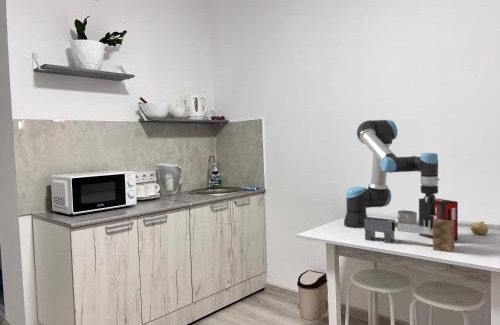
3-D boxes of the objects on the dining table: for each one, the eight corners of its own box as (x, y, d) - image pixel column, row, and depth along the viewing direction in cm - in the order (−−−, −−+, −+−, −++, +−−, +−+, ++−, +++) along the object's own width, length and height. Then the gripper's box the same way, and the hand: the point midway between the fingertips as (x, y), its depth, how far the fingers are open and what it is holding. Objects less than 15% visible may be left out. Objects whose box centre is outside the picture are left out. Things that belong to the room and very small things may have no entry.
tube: (396, 231, 189) (396, 214, 188) (399, 229, 193) (399, 213, 192) (443, 236, 176) (443, 219, 176) (445, 234, 180) (445, 217, 180)
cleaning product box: (457, 240, 192) (457, 201, 191) (444, 242, 189) (444, 203, 188) (431, 233, 208) (431, 197, 206) (419, 235, 204) (418, 198, 203)
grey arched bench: (364, 239, 198) (363, 219, 198) (368, 236, 204) (368, 216, 203) (391, 243, 190) (391, 222, 189) (395, 240, 195) (395, 219, 195)
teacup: (407, 222, 237) (407, 209, 236) (421, 225, 227) (421, 212, 226) (389, 224, 232) (389, 211, 231) (402, 228, 222) (402, 214, 221)
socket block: (433, 249, 177) (433, 222, 177) (436, 245, 184) (436, 219, 184) (450, 252, 173) (450, 224, 172) (454, 247, 180) (454, 220, 179)
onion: (483, 236, 198) (484, 223, 197) (468, 234, 204) (468, 221, 204) (490, 234, 202) (490, 221, 202) (474, 231, 209) (474, 219, 208)
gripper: (432, 188, 170) (432, 237, 171) (442, 182, 187) (442, 227, 189) (415, 187, 174) (415, 234, 175) (426, 182, 192) (426, 225, 193)
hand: (429, 230), depth 182 cm, fingers open, 9 cm apart
